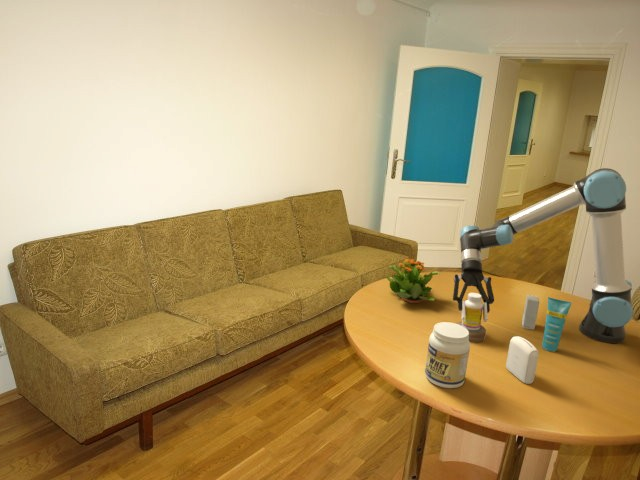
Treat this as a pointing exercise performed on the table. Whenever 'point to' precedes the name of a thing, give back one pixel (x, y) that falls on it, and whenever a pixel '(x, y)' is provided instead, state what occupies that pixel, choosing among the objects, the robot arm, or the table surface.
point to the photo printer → (522, 359)
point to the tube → (554, 323)
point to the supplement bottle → (473, 312)
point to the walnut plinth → (476, 334)
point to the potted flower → (411, 282)
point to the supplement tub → (447, 355)
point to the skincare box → (530, 312)
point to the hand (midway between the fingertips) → (474, 319)
